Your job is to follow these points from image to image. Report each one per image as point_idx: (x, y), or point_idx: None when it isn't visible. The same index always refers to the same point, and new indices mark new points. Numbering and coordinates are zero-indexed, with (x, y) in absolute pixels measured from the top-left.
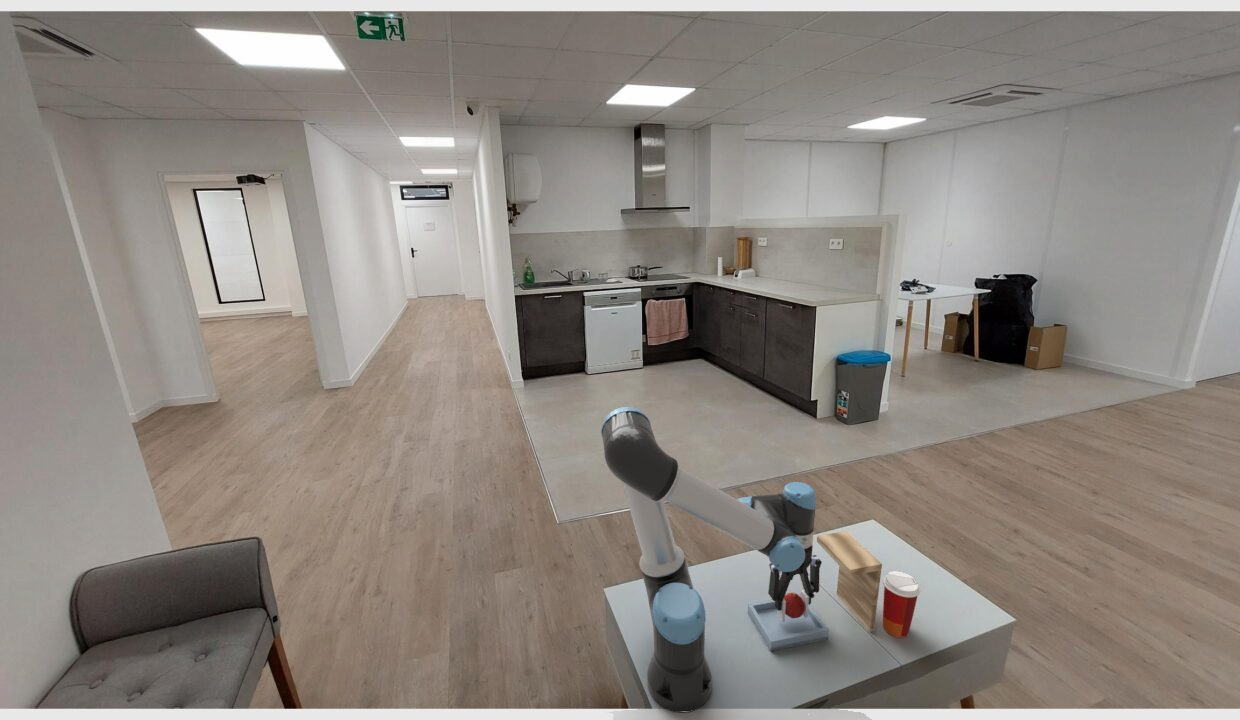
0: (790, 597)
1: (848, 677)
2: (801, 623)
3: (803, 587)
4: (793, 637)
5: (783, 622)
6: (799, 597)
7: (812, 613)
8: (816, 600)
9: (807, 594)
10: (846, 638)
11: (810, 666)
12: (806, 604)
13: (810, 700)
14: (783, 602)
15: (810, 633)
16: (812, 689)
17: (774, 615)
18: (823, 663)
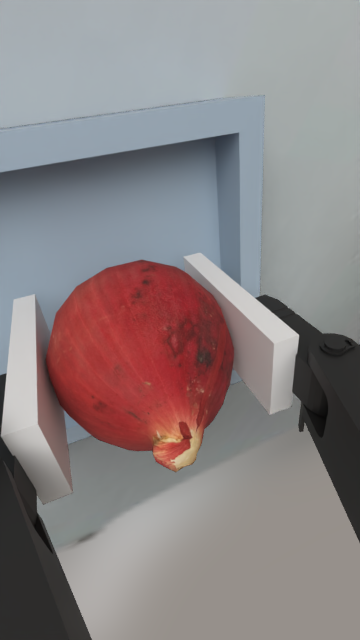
0: (135, 439)
1: (215, 459)
2: None
3: (317, 368)
4: (79, 438)
5: (57, 297)
6: (217, 412)
7: (242, 287)
8: (321, 92)
9: (296, 395)
10: None
11: (116, 457)
12: (238, 368)
13: (75, 544)
14: (45, 497)
15: None
16: (93, 518)
17: (5, 242)
18: None
